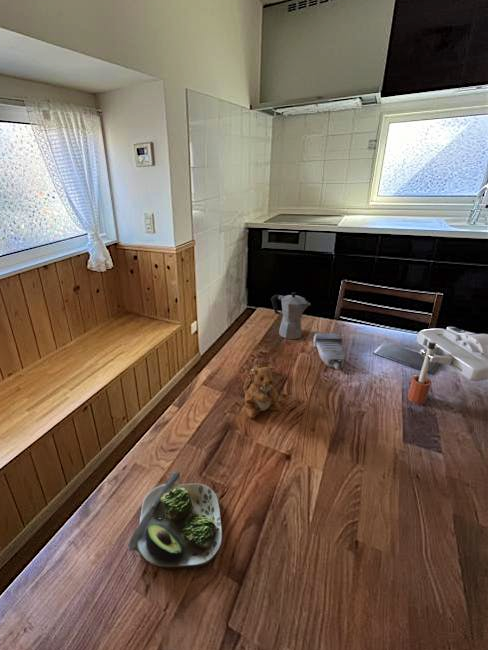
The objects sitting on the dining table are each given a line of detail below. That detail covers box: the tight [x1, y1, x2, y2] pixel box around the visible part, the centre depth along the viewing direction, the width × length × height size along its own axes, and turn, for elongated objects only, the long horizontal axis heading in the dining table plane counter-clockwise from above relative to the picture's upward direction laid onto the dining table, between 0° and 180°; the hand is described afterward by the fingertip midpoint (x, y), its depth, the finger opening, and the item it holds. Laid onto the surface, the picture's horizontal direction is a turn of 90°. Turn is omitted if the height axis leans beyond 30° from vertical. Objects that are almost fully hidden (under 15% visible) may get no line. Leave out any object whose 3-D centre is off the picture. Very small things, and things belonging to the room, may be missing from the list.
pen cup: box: [407, 375, 433, 405], centre depth 95 cm, size 4×4×7 cm
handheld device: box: [312, 332, 347, 371], centre depth 118 cm, size 10×20×5 cm, turn 173°
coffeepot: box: [270, 291, 311, 340], centre depth 131 cm, size 15×9×18 cm, turn 53°
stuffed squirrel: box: [243, 363, 282, 419], centre depth 97 cm, size 10×14×13 cm
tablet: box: [372, 340, 442, 376], centre depth 115 cm, size 18×11×1 cm, turn 42°
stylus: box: [418, 340, 436, 384], centre depth 92 cm, size 1×1×15 cm
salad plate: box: [127, 470, 223, 570], centre depth 68 cm, size 19×18×5 cm
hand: (425, 355), depth 91 cm, fingers closed on stylus, 1 cm apart
